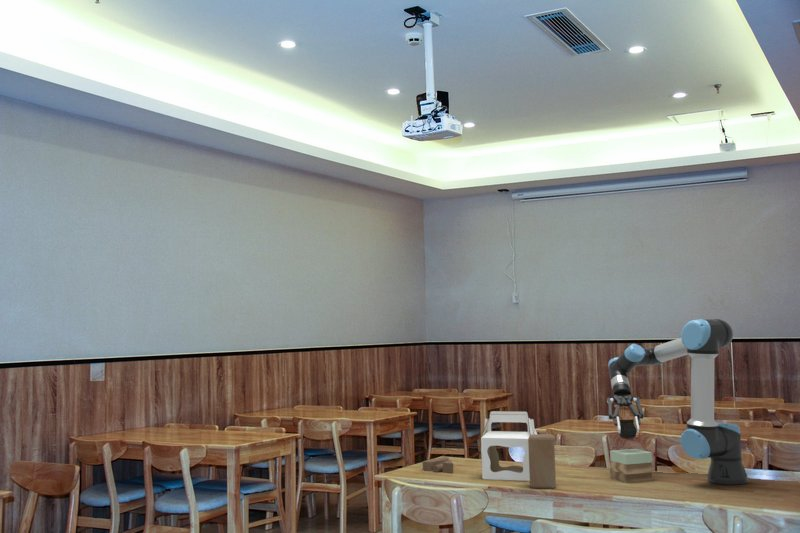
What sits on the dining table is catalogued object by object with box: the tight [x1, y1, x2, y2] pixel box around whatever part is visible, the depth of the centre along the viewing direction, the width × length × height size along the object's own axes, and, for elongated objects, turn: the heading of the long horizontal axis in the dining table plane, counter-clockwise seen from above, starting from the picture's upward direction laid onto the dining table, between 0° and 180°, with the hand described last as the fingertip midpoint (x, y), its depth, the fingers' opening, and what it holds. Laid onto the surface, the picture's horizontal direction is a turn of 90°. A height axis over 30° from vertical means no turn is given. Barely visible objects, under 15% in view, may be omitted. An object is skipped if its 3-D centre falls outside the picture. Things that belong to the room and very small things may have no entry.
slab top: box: [609, 448, 653, 464], centre depth 338 cm, size 12×12×4 cm
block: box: [528, 433, 557, 489], centre depth 328 cm, size 10×10×20 cm
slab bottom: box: [609, 470, 653, 484], centre depth 337 cm, size 12×12×4 cm
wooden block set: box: [422, 456, 455, 474], centre depth 376 cm, size 17×6×18 cm
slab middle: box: [609, 460, 653, 474], centre depth 338 cm, size 12×12×4 cm
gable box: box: [480, 410, 538, 482], centre depth 351 cm, size 22×13×28 cm, turn 68°
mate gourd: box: [617, 413, 637, 440], centre depth 338 cm, size 7×8×10 cm
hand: (628, 430), depth 335 cm, fingers closed on mate gourd, 7 cm apart
